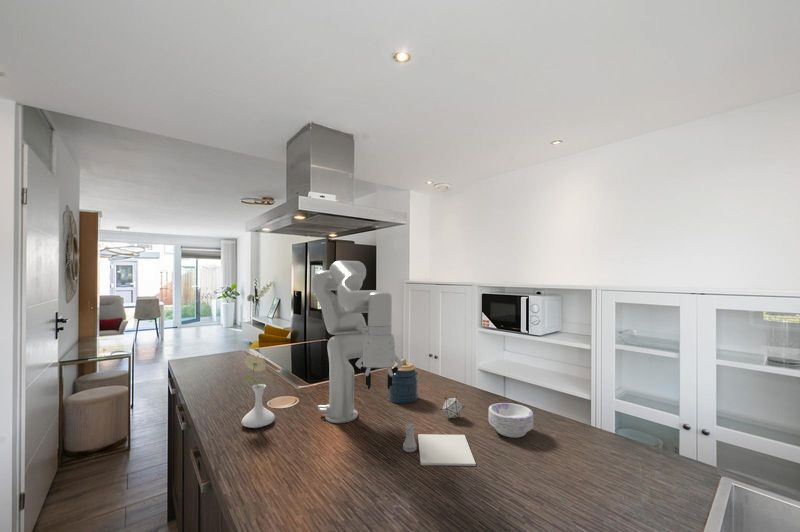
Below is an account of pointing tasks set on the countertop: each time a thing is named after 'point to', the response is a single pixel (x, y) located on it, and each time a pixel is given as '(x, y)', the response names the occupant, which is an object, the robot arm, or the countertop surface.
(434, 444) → the mat
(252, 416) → the flower in vase
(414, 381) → the canister
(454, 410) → the game die
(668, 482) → the countertop surface
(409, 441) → the rook chess piece
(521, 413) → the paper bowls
